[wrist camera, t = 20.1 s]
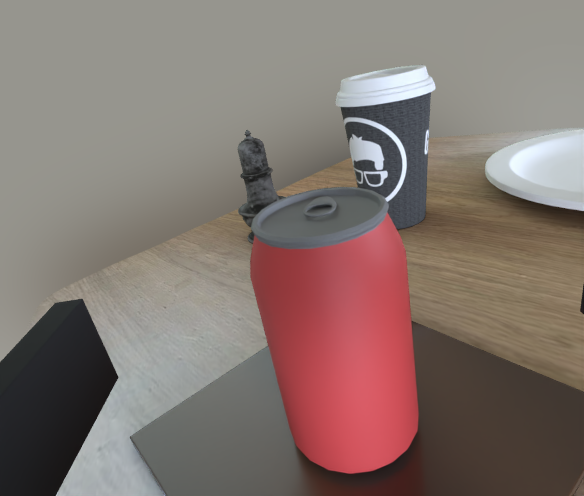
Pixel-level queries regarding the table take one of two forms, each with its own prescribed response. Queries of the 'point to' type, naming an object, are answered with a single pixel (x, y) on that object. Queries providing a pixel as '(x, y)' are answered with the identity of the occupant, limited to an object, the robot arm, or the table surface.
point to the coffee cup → (390, 136)
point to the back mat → (407, 467)
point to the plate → (542, 169)
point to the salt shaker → (255, 179)
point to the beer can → (338, 325)
